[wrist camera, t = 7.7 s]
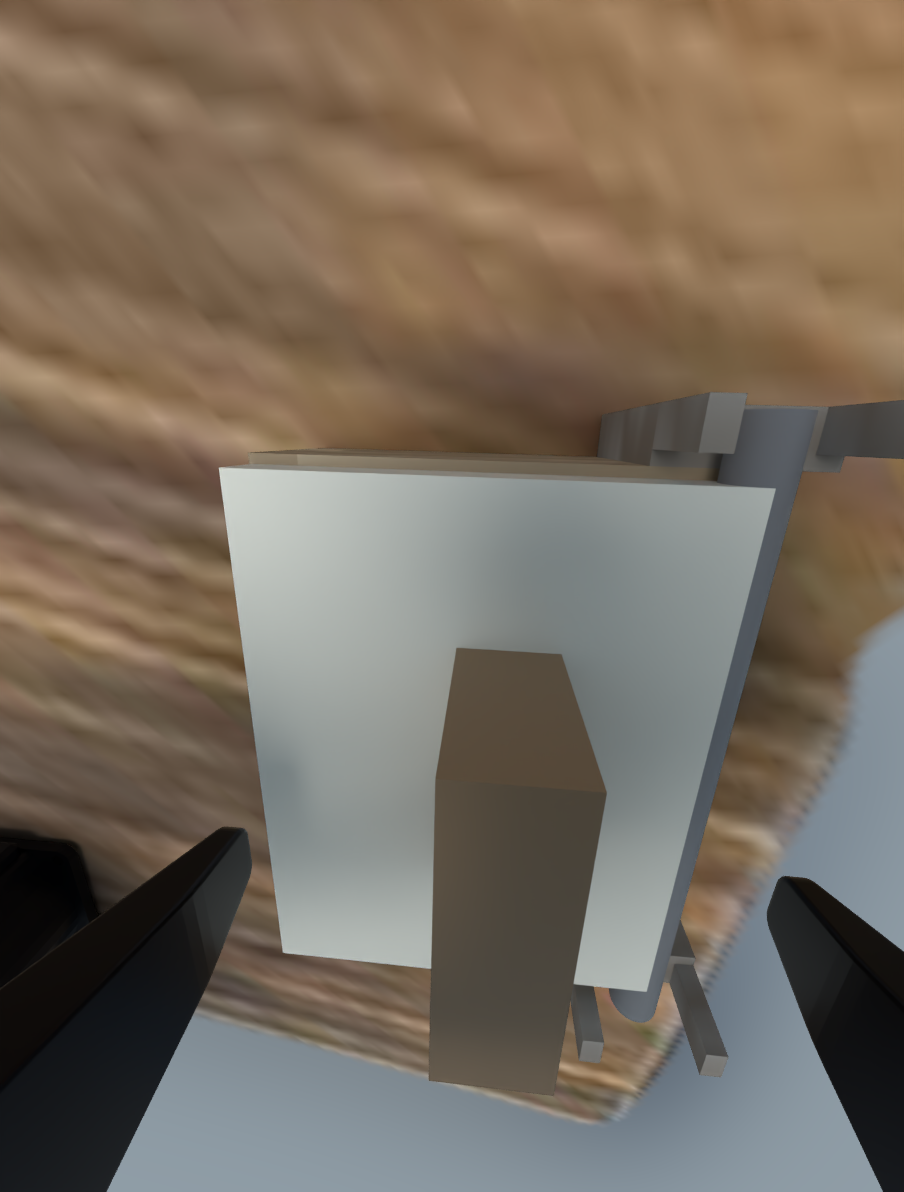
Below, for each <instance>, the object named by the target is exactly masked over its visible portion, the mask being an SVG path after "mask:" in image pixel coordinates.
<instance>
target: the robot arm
mask: <svg viewBox="0 0 904 1192" xmlns="http://www.w3.org/2000/svg"><path fill="white" fill-rule="evenodd" d="M251 869H252V859H251V853H250V846H249V839H248V834H247V831H246V830H245V829H243V828H236V827H222V828H220V829H218V830H216V831H215V832H214V833H212V834H211V835H209V836H208V837H207V838H205V839H204V840H203V841H201V842H200V843H199V844H197V845H196V846H194V847H193V848H192V849H190V850H189V851H188V852H186V853H185V854H183V855H182V856H181V857H179V858H178V859H177V860H175V861H174V862H172V863H171V864H170V865H168V866H167V867H166V868H164V869H163V870H162V871H160V872H159V873H157V874H156V875H155V876H153V877H152V878H151V879H149V880H148V881H146V882H145V883H144V884H142V885H141V886H140V887H138V888H137V889H136V890H134V891H133V892H131V893H130V894H129V895H127V896H126V897H125V898H123V899H122V900H120V901H119V902H118V903H116V904H115V905H114V906H112V907H111V908H109V909H108V910H107V911H105V912H104V913H103V914H101V915H100V916H99V917H97V914H96V911H95V908H94V904H93V901H92V898H91V895H90V892H89V889H88V885H87V882H86V879H85V876H84V873H83V870H82V866H81V863H80V860H79V857H78V854H77V852H76V850H75V849H74V848H73V847H71V846H69V845H67V844H63V843H52V842H41V841H31V840H20V839H9V838H0V1192H107V1190H108V1188H109V1186H110V1184H111V1181H112V1179H113V1177H114V1175H115V1173H116V1171H117V1169H118V1167H119V1165H120V1163H121V1160H122V1159H123V1157H124V1155H125V1153H126V1151H127V1149H128V1147H129V1145H130V1143H131V1140H132V1138H133V1136H134V1134H135V1132H136V1130H137V1128H138V1126H139V1124H140V1122H141V1120H142V1118H143V1116H144V1114H145V1112H146V1110H147V1108H148V1106H149V1104H150V1102H151V1100H152V1097H153V1095H154V1093H155V1091H156V1089H157V1087H158V1085H159V1083H160V1081H161V1079H162V1077H163V1075H164V1073H165V1071H166V1069H167V1067H168V1065H169V1063H170V1061H171V1058H172V1056H173V1055H174V1052H175V1050H176V1048H177V1046H178V1044H179V1042H180V1040H181V1038H182V1036H183V1034H184V1032H185V1030H186V1028H187V1026H188V1024H189V1022H190V1020H191V1018H192V1016H193V1014H194V1011H195V1009H196V1007H197V1005H198V1003H199V1001H200V999H201V997H202V995H203V993H204V991H205V989H206V986H207V984H208V982H209V980H210V978H211V975H212V973H213V970H214V968H215V966H216V963H217V961H218V958H219V956H220V953H221V950H222V948H223V945H224V943H225V940H226V937H227V935H228V932H229V930H230V927H231V924H232V922H233V919H234V917H235V914H236V911H237V909H238V906H239V904H240V901H241V899H242V896H243V893H244V891H245V888H246V886H247V883H248V880H249V878H250V874H251ZM767 921H768V926H769V929H770V932H771V935H772V937H773V940H774V942H775V945H776V947H777V950H778V953H779V955H780V958H781V961H782V963H783V966H784V969H785V971H786V974H787V977H788V979H789V982H790V985H791V987H792V990H793V992H794V995H795V997H796V1000H797V1003H798V1005H799V1008H800V1011H801V1013H802V1016H803V1019H804V1021H805V1024H806V1026H807V1028H808V1031H809V1034H810V1036H811V1039H812V1041H813V1043H814V1045H815V1048H816V1050H817V1052H818V1055H819V1057H820V1059H821V1061H822V1063H823V1066H824V1068H825V1070H826V1072H827V1074H828V1076H829V1078H830V1080H831V1082H832V1085H833V1087H834V1089H835V1091H836V1093H837V1095H838V1097H839V1099H840V1102H841V1104H842V1106H843V1108H844V1110H845V1112H846V1114H847V1116H848V1119H849V1121H850V1123H851V1124H852V1127H853V1129H854V1131H855V1133H856V1135H857V1137H858V1140H859V1142H860V1144H861V1146H862V1148H863V1150H864V1152H865V1154H866V1157H867V1159H868V1161H869V1163H870V1165H871V1167H872V1169H873V1171H874V1173H875V1176H876V1178H877V1180H878V1182H879V1184H880V1186H881V1188H882V1190H883V1192H904V951H902V950H901V949H900V948H898V947H897V946H896V945H894V944H893V943H892V942H891V941H889V940H888V939H887V938H886V937H884V936H883V935H882V934H880V933H879V932H878V931H876V930H875V929H874V928H873V927H871V926H870V925H869V924H868V923H866V922H865V921H864V920H862V919H861V918H860V917H858V916H857V915H856V914H855V913H853V912H852V911H851V910H850V909H848V908H847V907H846V906H844V905H843V904H842V903H841V902H839V901H838V900H837V899H835V898H834V897H833V896H832V895H830V894H829V893H828V892H826V891H825V890H824V889H823V888H821V887H820V886H819V885H818V884H816V883H815V882H813V881H811V880H809V879H807V878H800V877H790V876H784V877H781V878H780V879H778V881H777V884H776V887H775V889H774V892H773V895H772V898H771V901H770V904H769V906H768V910H767Z"/></svg>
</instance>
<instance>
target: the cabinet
mask: <svg viewBox="0 0 904 1192" xmlns="http://www.w3.org/2000/svg"><path fill="white" fill-rule="evenodd" d="M747 394H748V393H717V392H709V393H705V394H700V395H695V396H690V397H685V398H681V399H676V400H671V401H666V402H661V403H656V404H652V405H647V406H642V407H637V408H632V409H628V410H623V411H618V412H613V413H608V414H604V415H602V421H601V429H600V437H599V445H598V453H597V457H586V456H555V455H524V454H493V453H462V452H432V451H401V450H370V449H339V448H317V449H301V450H284V451H268V452H251V453H248V456H249V464H265V465H292V466H320V467H347V468H374V469H402V470H429V471H456V472H483V473H511V474H538V475H565V476H593V477H620V478H647V479H674V480H702V481H717V480H718V475H719V470H720V466H721V461H722V456H723V453H725V454H734V452H735V448H736V443H737V439H738V434H739V430H740V425H741V421H742V416H743V412H744V409H811V410H818V415H817V419H816V422H815V426H814V430H813V433H812V437H811V441H810V444H809V448H808V452H807V455H806V459H805V463H804V466H803V470H802V471H809V472H839V473H840V470H841V467H842V463H843V460H844V457H845V456H855V457H875V458H895V459H904V400H899V401H889V402H878V403H867V404H856V405H845V406H834V407H811V406H770V405H745V403H746V398H747ZM694 961H695V956H694V953H693V951H692V948H691V946H690V943H689V941H688V938H687V936H686V933H685V930H684V928H683V925H682V923H681V920H680V922H679V926H678V929H677V933H676V937H675V940H674V944H673V948H672V951H671V955H670V959H669V962H668V966H667V970H666V973H665V977H664V981H663V982H666V983H670V986H671V989H672V992H673V995H674V998H675V1001H676V1004H677V1007H678V1010H679V1013H680V1016H681V1019H682V1022H683V1025H684V1028H685V1031H686V1035H687V1038H688V1041H689V1044H690V1046H691V1050H692V1053H693V1056H694V1059H695V1061H696V1065H697V1068H698V1071H699V1074H700V1075H705V1076H714V1077H721V1076H722V1073H723V1071H724V1068H725V1065H726V1062H727V1060H728V1055H727V1052H726V1050H725V1047H724V1044H723V1042H722V1039H721V1037H720V1034H719V1031H718V1029H717V1026H716V1023H715V1021H714V1019H713V1016H712V1013H711V1010H710V1008H709V1005H708V1003H707V1000H706V997H705V995H704V992H703V990H702V987H701V984H700V982H699V979H698V977H697V974H696V971H695V969H694V966H693V965H694ZM571 1007H572V1014H573V1021H574V1028H575V1035H576V1043H577V1050H578V1057H579V1061H586V1062H595V1063H600V1059H601V1054H602V1050H603V1045H604V1040H603V1035H602V1029H601V1024H600V1019H599V1013H598V1008H597V1003H596V997H595V992H594V987H593V986H587V985H578V984H573V989H572V995H571Z"/></svg>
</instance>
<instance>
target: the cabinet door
mask: <svg viewBox="0 0 904 1192" xmlns="http://www.w3.org/2000/svg"><path fill="white" fill-rule="evenodd" d="M817 415H818V410H811V409H744V412H743V416H742V421H741V425H740V430H739V434H738V439H737V443H736V448H735V452H734V454H725V453H723V456H722V461H721V466H720V470H719V475H718V480H717V481H702V480H674V479H647V478H620V477H593V476H565V475H538V474H511V473H483V472H456V471H429V470H402V469H374V468H347V467H320V466H292V465H265V464H248V465H239V466H230V467H220V468H219V473H220V481H221V488H222V496H223V504H224V511H225V519H226V526H227V534H228V541H229V549H230V556H231V564H232V571H233V579H234V586H235V594H236V602H237V609H238V617H239V624H240V632H241V639H242V647H243V654H244V662H245V669H246V677H247V684H248V692H249V699H250V707H251V715H252V722H253V730H254V737H255V745H256V752H257V760H258V767H259V775H260V782H261V790H262V797H263V805H264V813H265V820H266V828H267V835H268V843H269V850H270V858H271V865H272V873H273V880H274V888H275V895H276V903H277V910H278V918H279V926H280V933H281V941H282V948H283V953H290V954H299V955H309V956H318V957H327V958H336V959H346V960H355V961H364V962H373V963H383V964H392V965H401V966H411V967H420V968H429V969H431V996H430V1041H429V1081H436V1082H445V1083H453V1084H461V1085H469V1086H477V1087H485V1088H493V1089H501V1090H509V1091H517V1092H525V1093H533V1094H541V1095H549V1096H554V1091H555V1086H556V1080H557V1074H558V1069H559V1063H560V1057H561V1052H562V1046H563V1040H564V1035H565V1029H566V1023H567V1018H568V1012H569V1006H570V1000H571V995H572V989H573V984H578V985H587V986H596V987H605V988H609V993H610V997H611V1000H612V1002H613V1004H614V1005H615V1007H616V1008H617V1009H618V1011H619V1012H620V1013H621V1014H622V1015H624V1016H625V1017H626V1018H628V1019H630V1020H632V1021H635V1022H646V1021H649V1020H650V1019H651V1018H652V1017H653V1016H654V1013H655V1010H656V1006H657V1003H658V999H659V995H660V992H661V988H662V984H663V981H664V977H665V973H666V970H667V966H668V962H669V959H670V955H671V951H672V948H673V944H674V940H675V937H676V933H677V929H678V926H679V922H680V918H681V915H682V911H683V907H684V904H685V900H686V896H687V893H688V889H689V885H690V882H691V878H692V874H693V871H694V867H695V863H696V860H697V856H698V852H699V849H700V845H701V841H702V837H703V834H704V830H705V826H706V823H707V819H708V815H709V812H710V808H711V804H712V801H713V797H714V793H715V790H716V786H717V782H718V779H719V775H720V771H721V768H722V764H723V760H724V757H725V753H726V749H727V746H728V742H729V738H730V735H731V731H732V727H733V724H734V720H735V716H736V713H737V709H738V705H739V702H740V698H741V694H742V691H743V687H744V683H745V680H746V676H747V672H748V669H749V665H750V661H751V657H752V654H753V650H754V646H755V643H756V639H757V635H758V632H759V628H760V624H761V621H762V617H763V613H764V610H765V606H766V602H767V599H768V595H769V591H770V588H771V584H772V580H773V577H774V573H775V569H776V566H777V562H778V558H779V555H780V551H781V547H782V544H783V540H784V536H785V533H786V529H787V525H788V522H789V518H790V514H791V511H792V507H793V503H794V500H795V496H796V492H797V488H798V485H799V481H800V477H801V474H802V470H803V466H804V463H805V459H806V455H807V452H808V448H809V444H810V441H811V437H812V433H813V430H814V426H815V422H816V419H817Z"/></svg>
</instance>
